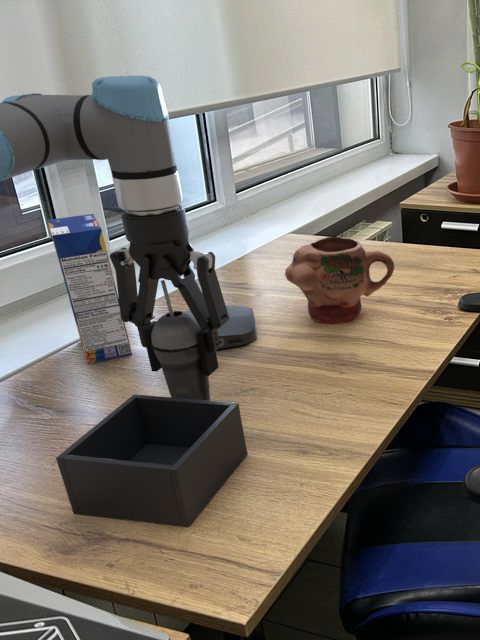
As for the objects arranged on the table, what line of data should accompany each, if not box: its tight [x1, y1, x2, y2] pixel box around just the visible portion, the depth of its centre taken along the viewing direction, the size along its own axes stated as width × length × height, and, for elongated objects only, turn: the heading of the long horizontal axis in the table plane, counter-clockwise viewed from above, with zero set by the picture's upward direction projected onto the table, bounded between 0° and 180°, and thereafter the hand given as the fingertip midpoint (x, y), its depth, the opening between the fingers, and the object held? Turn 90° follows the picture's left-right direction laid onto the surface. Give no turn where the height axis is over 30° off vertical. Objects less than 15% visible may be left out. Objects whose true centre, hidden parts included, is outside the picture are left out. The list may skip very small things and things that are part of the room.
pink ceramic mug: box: [284, 235, 395, 324], centre depth 132 cm, size 20×12×14 cm, turn 103°
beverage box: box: [46, 213, 133, 365], centre depth 118 cm, size 7×11×22 cm, turn 32°
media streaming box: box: [186, 304, 257, 350], centre depth 126 cm, size 15×15×3 cm
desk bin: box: [55, 394, 248, 528], centre depth 85 cm, size 15×15×8 cm
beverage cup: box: [151, 279, 211, 401], centre depth 98 cm, size 7×7×20 cm
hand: (185, 369), depth 99 cm, fingers closed on beverage cup, 7 cm apart
